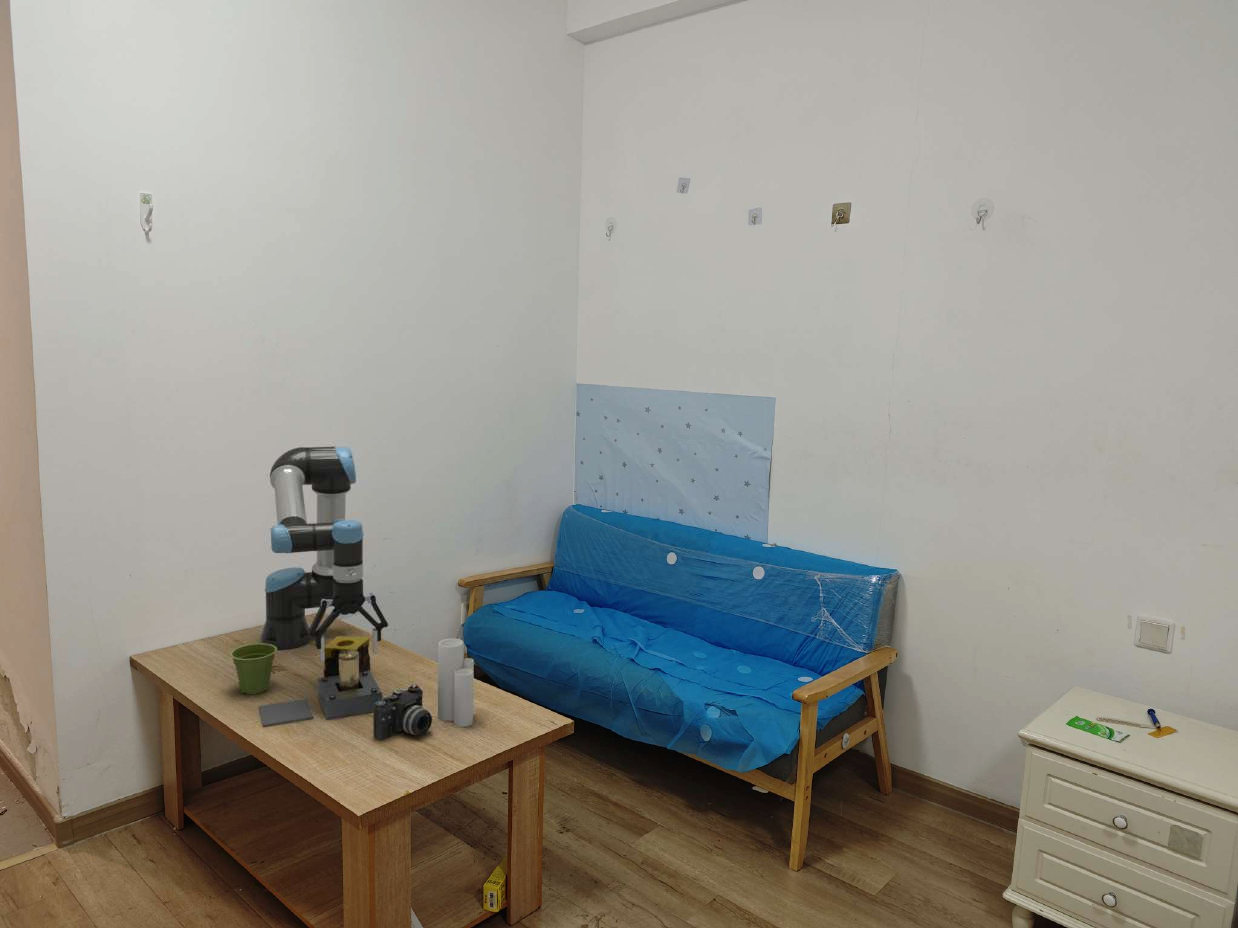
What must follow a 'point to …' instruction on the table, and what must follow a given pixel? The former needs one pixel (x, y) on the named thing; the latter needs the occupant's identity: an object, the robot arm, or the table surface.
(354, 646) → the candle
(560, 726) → the table surface
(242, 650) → the plant pot
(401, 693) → the camera
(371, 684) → the housing
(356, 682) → the plug
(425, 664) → the table surface
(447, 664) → the grey cylinder cluster
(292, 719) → the mat
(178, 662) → the table surface
